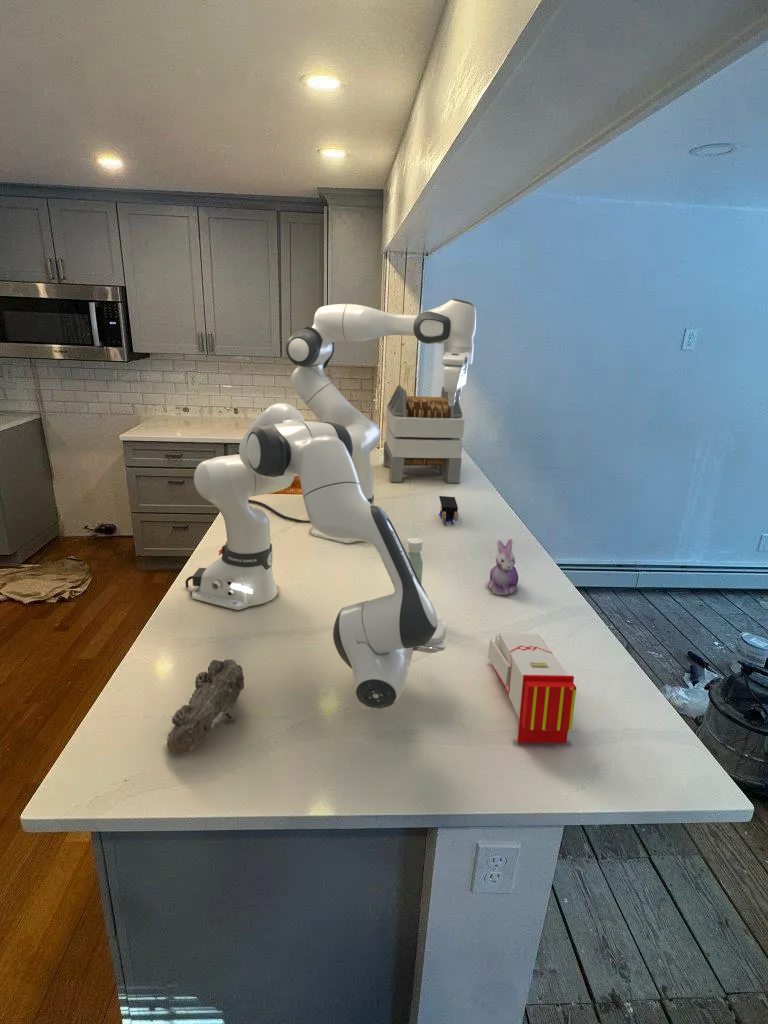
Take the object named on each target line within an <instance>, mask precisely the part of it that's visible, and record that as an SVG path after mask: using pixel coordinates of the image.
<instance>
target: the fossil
mask: <svg viewBox="0 0 768 1024" xmlns="http://www.w3.org/2000/svg"><path fill="white" fill-rule="evenodd" d="M243 670H244V669H243V667H242V665H240V664H237V662H236V661H235V660H234V659H232V658H231V659H227V658H226V659H224V660H223V661H222V660H217V659H212V660H211V661H210V663H209V665H208V666H207V671H201V672H199V673H198V674H197V675H196V676H195V680H194V684H195V685H194V687H195V689H194V690H193V693H192V694H191V697H190V698H189V700H188V704H184V705H182V706H181V707H180V709H177V710H176V711H175V713H174V715H173V716H172V718H171V723H172V724H173V727H172V730H171V731H170V732H168V734H167V738H166V741H167V742H166V745H167V749H168V750H169V751H173V752H174V753H176V754H178V753H182V752H188V751H189V752H192V751H193V750H195V748H196V747H197V746H199V744H200V743H201V742H203V741H204V740H205V739H206V738H207V737H208V736H209V735H210V734H211V733H212V732H214V730H215V729H217V727H218V726H219V724H220V722H221V721H222V720H223V719H224V718H225V716H226V717H227V719H229V720H233V717H232V715H230V714H229V710H230V709H231V708H234V706H235V704H236V703H237V702H238V699H239V697H240V695H241V693H242V691H243V690H245V689H244V688H245V675H244V671H243Z"/></svg>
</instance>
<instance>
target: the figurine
mask: <svg viewBox="0 0 768 1024" xmlns="http://www.w3.org/2000/svg"><path fill="white" fill-rule="evenodd" d="M496 542H497V543H496V545H497V555H496V557H495V564H496V565H494V566H493V567H492V568H491V569H490V573H489V581H488V587H489V589H490V590H491V591H492V593H493V594H495V595H499V596H507V595H509V594H513V593H514V592H515V591H516V590H517V587H518V583H519V574H518V571H517V568H516V567H515V565H516V559H515V555H514V554H513V551H512V549H513V543H514V542H513V539H512V538H509V539H508V540H507V542H506V544H505V545H504V544H503V541H502V540H501V539H498V540H497V541H496Z"/></svg>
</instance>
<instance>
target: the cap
mask: <svg viewBox="0 0 768 1024" xmlns="http://www.w3.org/2000/svg"><path fill="white" fill-rule="evenodd" d="M423 542H424V541H423V539H421V538H419V537H409V538H408V539H407V542H406V550H407V551H408V552H409V551H410V552H420V553H421V552H422V551H423Z"/></svg>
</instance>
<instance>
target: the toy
mask: <svg viewBox="0 0 768 1024" xmlns="http://www.w3.org/2000/svg"><path fill="white" fill-rule="evenodd" d="M487 659H488V661H489V662H490V663H491V666H492V668H493V670H494V671H495V673H496V676H497V678H498V679H499V681H500V682H501V685H502V686H503V689H504V690H505V692H506V694H507V695H508V698H509V700H510V702H511V705H512V706H513V708H514V711H515V713H516V715H517V717H518V728H517V741H516V742H517V743H518V744H567V743H568V734H569V732H570V731H573V720H574V711H575V704H576V696H577V695H576V694H577V686H576V685H575V683H574V681H575V676H574V675H569V674H568V673H567V671H566V670H565V669H564V667H563V666H562V664H560V662H559V661H558V659H557V657H556V656H555V655H554V653H553V651H552V650H551V649H550V648H549V646H548V644H547V643H546V641H545V639H543V638H542V636H541V635H540V633H503V632H501V633H499V634H496V635H495V639H494V640H493V639H489V644H488V652H487Z"/></svg>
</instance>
